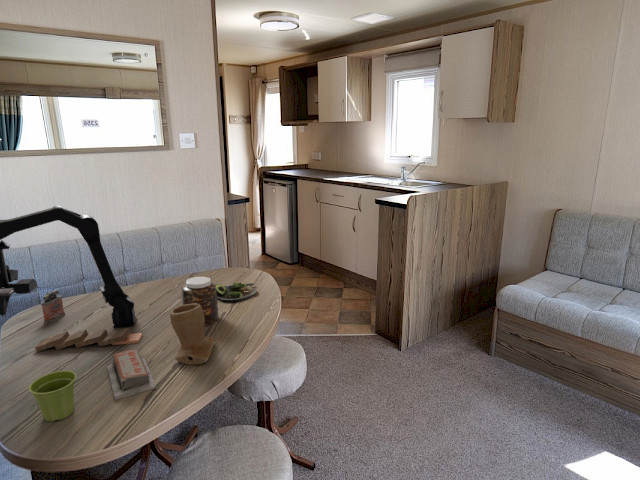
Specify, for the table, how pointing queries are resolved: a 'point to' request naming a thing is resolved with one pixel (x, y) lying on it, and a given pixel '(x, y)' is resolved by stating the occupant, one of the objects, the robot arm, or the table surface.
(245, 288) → the salad plate
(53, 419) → the plant pot
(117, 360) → the packaged product
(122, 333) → the domino
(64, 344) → the domino
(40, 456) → the table surface
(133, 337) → the domino
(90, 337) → the domino
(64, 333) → the domino
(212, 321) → the jar
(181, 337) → the tan boot
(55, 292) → the lighter
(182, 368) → the table surface
